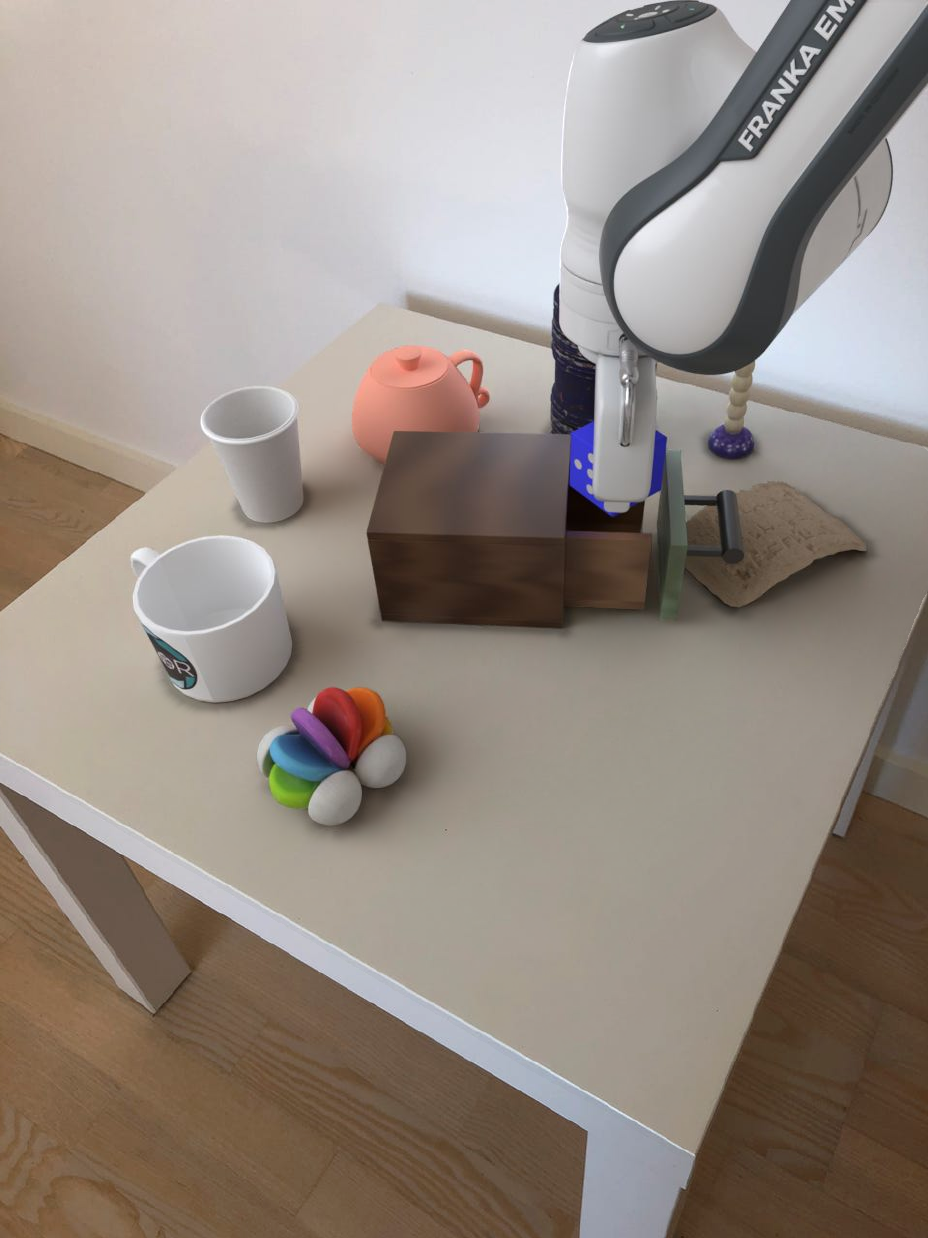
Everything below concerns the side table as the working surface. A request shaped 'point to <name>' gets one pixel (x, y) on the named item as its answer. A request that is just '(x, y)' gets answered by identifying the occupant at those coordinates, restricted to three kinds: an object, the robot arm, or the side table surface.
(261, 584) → the mug
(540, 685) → the side table surface
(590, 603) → the drawer
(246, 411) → the dixie cup
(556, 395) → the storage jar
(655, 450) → the die
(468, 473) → the cabinet
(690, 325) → the robot arm
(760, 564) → the clay tablet
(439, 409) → the sugar bowl
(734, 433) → the toy lamp
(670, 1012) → the side table surface
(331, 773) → the rainbow petal toy
